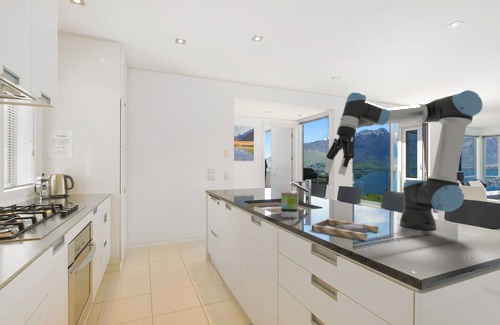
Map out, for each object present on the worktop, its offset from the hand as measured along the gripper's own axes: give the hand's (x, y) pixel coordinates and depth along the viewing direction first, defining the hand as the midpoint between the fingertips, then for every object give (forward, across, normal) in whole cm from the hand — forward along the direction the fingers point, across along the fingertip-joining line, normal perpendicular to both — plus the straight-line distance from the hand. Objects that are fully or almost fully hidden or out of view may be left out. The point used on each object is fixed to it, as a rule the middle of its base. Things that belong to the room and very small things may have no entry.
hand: (333, 173), depth 109 cm
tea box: (+29, -46, +3) cm, 54 cm away
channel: (+24, -6, +17) cm, 29 cm away
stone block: (+24, -4, +18) cm, 30 cm away
